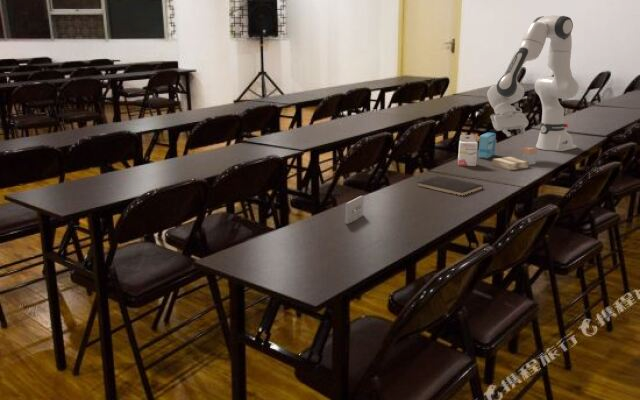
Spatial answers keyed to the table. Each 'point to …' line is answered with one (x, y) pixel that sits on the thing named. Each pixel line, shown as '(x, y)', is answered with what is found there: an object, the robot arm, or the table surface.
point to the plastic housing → (529, 154)
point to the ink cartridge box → (467, 151)
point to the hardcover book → (450, 185)
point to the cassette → (353, 213)
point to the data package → (487, 145)
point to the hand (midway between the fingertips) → (516, 135)
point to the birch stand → (510, 163)
